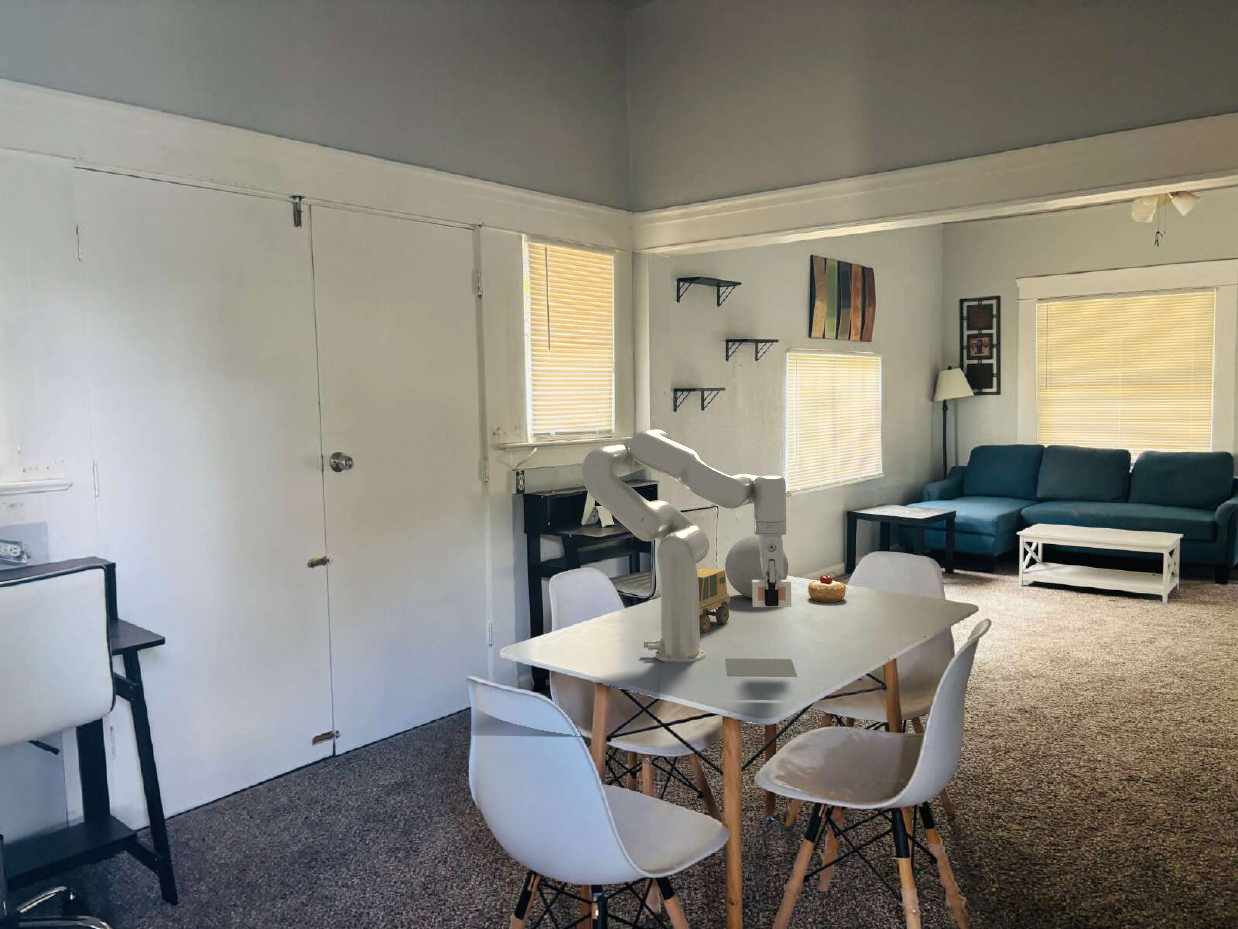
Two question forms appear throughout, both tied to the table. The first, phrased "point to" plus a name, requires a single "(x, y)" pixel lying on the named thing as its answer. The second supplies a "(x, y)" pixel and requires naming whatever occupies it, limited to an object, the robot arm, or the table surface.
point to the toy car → (712, 597)
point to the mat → (760, 667)
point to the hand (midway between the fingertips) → (771, 603)
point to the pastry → (826, 589)
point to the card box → (759, 593)
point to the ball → (747, 565)
